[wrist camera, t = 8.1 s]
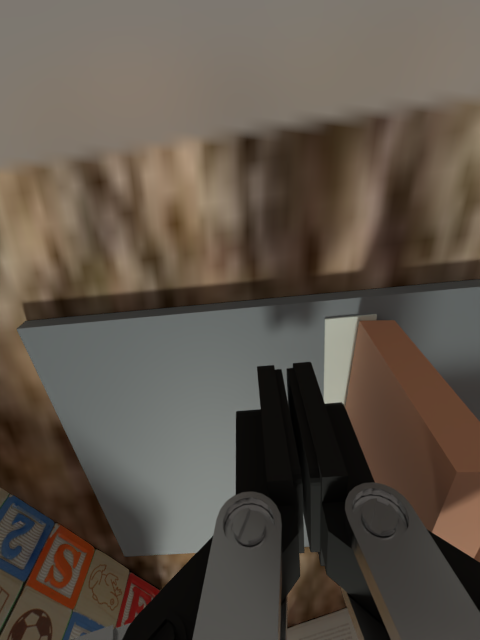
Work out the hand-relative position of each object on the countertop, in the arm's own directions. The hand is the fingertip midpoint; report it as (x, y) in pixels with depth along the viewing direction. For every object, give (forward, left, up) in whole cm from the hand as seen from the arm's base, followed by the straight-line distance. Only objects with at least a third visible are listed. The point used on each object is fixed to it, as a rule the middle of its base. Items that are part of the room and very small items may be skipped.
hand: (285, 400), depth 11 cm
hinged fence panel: (-3, +4, -2) cm, 5 cm away
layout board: (-4, +5, -3) cm, 7 cm away
